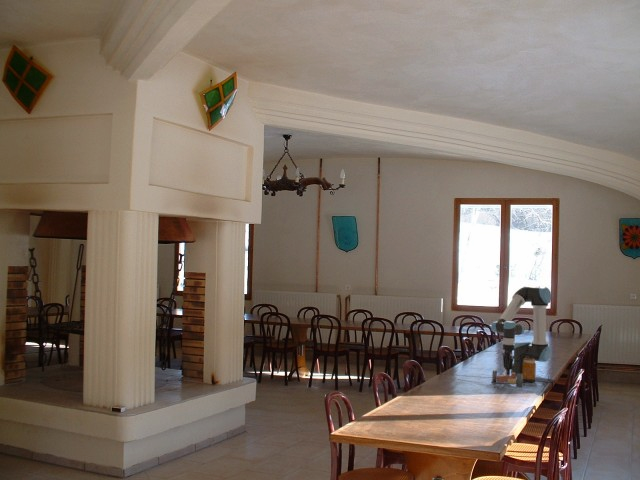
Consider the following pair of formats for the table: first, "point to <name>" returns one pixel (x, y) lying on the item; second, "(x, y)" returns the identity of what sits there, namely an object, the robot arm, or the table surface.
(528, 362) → the canister
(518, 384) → the grey hammer
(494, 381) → the post
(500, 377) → the pink l-shaped bracket
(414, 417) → the table surface
